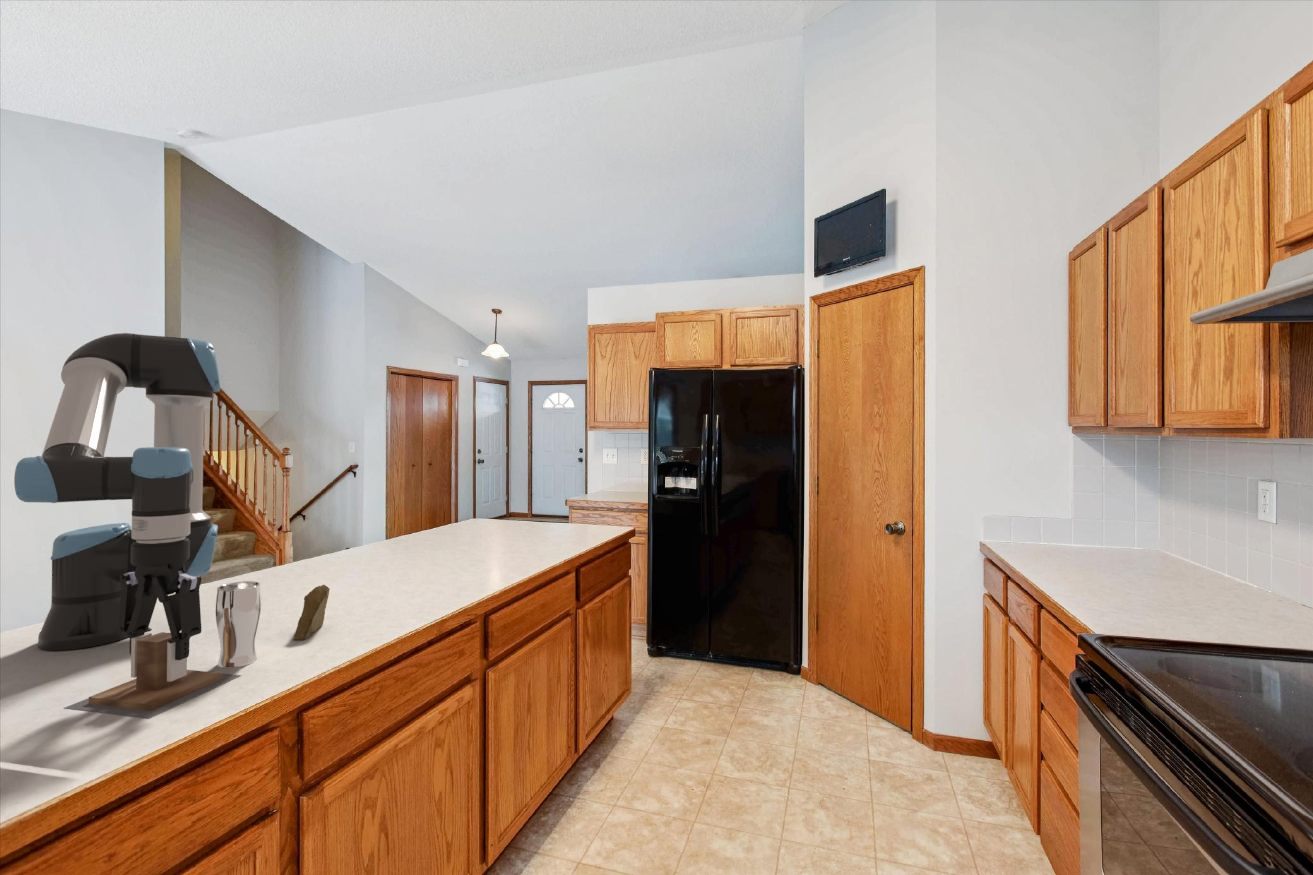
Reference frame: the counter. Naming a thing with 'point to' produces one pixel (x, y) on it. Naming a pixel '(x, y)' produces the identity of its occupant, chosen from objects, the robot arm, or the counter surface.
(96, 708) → the mat
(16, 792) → the counter surface
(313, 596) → the rock
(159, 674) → the lid
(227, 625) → the beer glass
